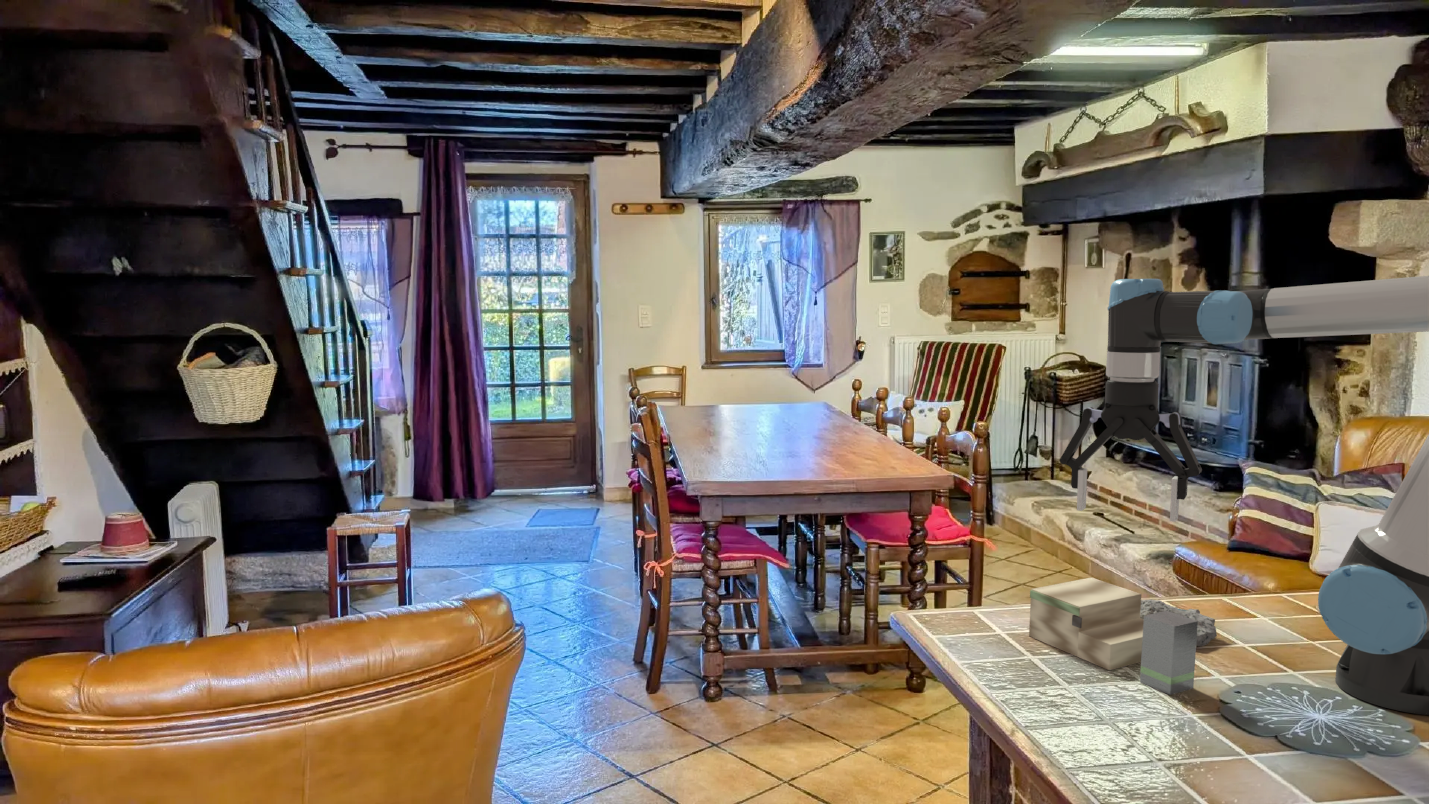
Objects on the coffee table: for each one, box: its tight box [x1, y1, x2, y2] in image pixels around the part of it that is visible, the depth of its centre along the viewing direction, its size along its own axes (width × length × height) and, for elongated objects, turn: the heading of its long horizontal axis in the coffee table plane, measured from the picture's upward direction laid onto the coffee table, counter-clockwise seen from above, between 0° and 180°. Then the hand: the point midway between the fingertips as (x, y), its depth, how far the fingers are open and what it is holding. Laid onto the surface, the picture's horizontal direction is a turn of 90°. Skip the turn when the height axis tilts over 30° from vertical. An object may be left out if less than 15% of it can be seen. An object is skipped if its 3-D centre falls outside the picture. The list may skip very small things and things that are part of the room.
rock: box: [1140, 599, 1218, 647], centre depth 160 cm, size 13×10×5 cm
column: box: [1139, 611, 1198, 696], centre depth 138 cm, size 5×5×10 cm
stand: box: [1028, 576, 1144, 671], centre depth 154 cm, size 16×14×8 cm
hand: (1126, 514), depth 150 cm, fingers open, 13 cm apart
